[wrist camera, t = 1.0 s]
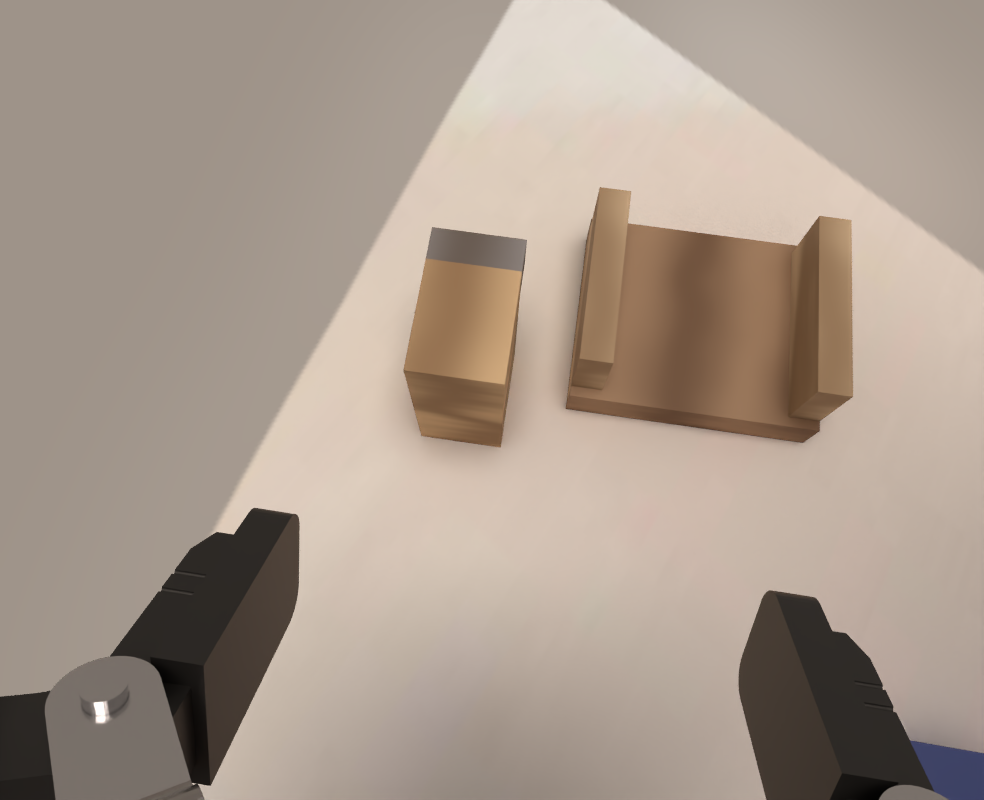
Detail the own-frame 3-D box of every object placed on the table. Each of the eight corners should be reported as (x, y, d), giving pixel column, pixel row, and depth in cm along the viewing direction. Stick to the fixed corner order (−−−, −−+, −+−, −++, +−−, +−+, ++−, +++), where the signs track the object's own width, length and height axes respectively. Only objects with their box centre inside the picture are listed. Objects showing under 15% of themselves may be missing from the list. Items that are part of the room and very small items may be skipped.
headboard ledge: (805, 267, 42) (851, 211, 36) (803, 442, 38) (852, 407, 33) (586, 238, 42) (600, 178, 37) (565, 408, 39) (578, 368, 34)
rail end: (518, 329, 40) (526, 239, 32) (500, 447, 38) (504, 384, 30) (443, 319, 40) (432, 227, 32) (421, 435, 38) (403, 370, 30)
